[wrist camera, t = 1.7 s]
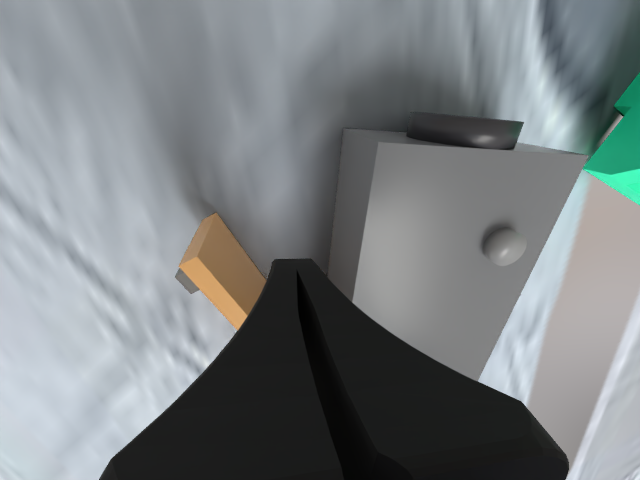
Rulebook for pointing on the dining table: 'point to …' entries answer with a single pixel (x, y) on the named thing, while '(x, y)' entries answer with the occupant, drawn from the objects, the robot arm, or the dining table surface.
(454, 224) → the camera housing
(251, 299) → the tan piece
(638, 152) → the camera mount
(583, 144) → the dining table surface
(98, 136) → the dining table surface
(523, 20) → the dining table surface
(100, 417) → the dining table surface
